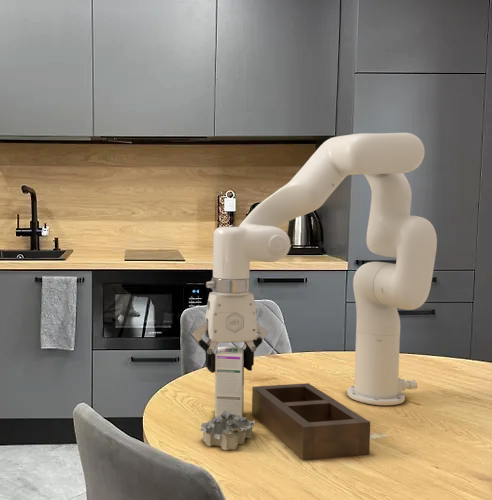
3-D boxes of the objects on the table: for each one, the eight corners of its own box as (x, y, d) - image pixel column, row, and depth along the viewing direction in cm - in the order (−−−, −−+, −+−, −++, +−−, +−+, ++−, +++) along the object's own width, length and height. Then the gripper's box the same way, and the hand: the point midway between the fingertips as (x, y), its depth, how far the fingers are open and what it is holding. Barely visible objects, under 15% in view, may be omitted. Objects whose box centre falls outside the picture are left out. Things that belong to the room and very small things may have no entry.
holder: (307, 410, 135) (308, 383, 134) (369, 454, 112) (370, 422, 111) (251, 413, 132) (252, 386, 132) (302, 460, 109) (303, 427, 108)
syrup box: (242, 423, 127) (244, 353, 126) (213, 420, 128) (215, 352, 127) (243, 413, 133) (245, 347, 131) (216, 411, 134) (217, 345, 132)
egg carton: (231, 453, 112) (231, 431, 111) (196, 443, 116) (196, 422, 116) (258, 435, 120) (259, 415, 120) (225, 426, 125) (225, 406, 124)
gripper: (195, 290, 123) (194, 377, 124) (277, 287, 126) (275, 372, 128) (185, 284, 130) (184, 367, 131) (263, 283, 133) (261, 363, 135)
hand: (229, 369), depth 129 cm, fingers closed on syrup box, 7 cm apart
